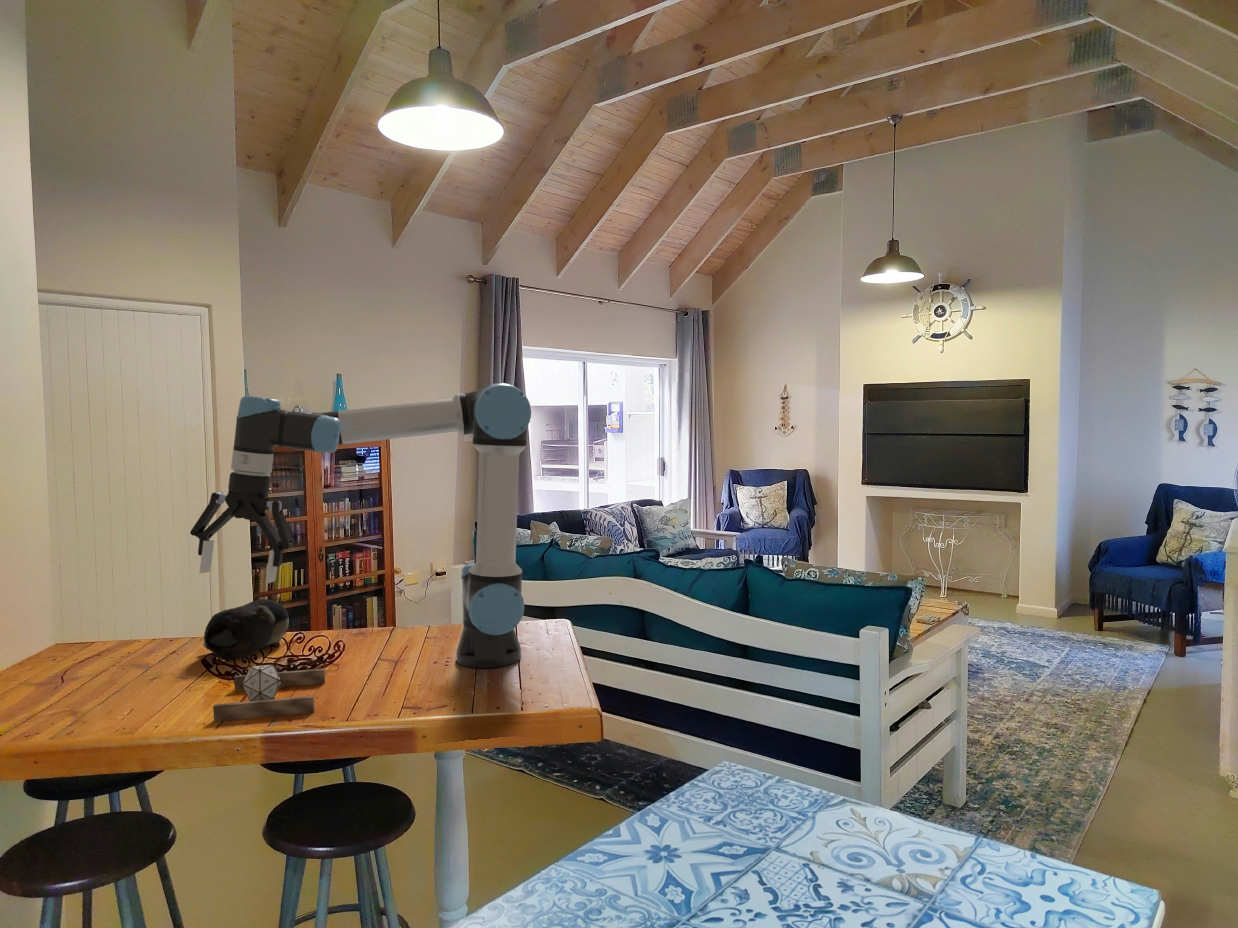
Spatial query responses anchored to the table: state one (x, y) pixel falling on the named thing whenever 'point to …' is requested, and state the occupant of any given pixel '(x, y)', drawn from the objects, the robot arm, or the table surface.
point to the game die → (261, 682)
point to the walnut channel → (274, 705)
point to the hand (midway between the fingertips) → (237, 577)
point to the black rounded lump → (246, 629)
